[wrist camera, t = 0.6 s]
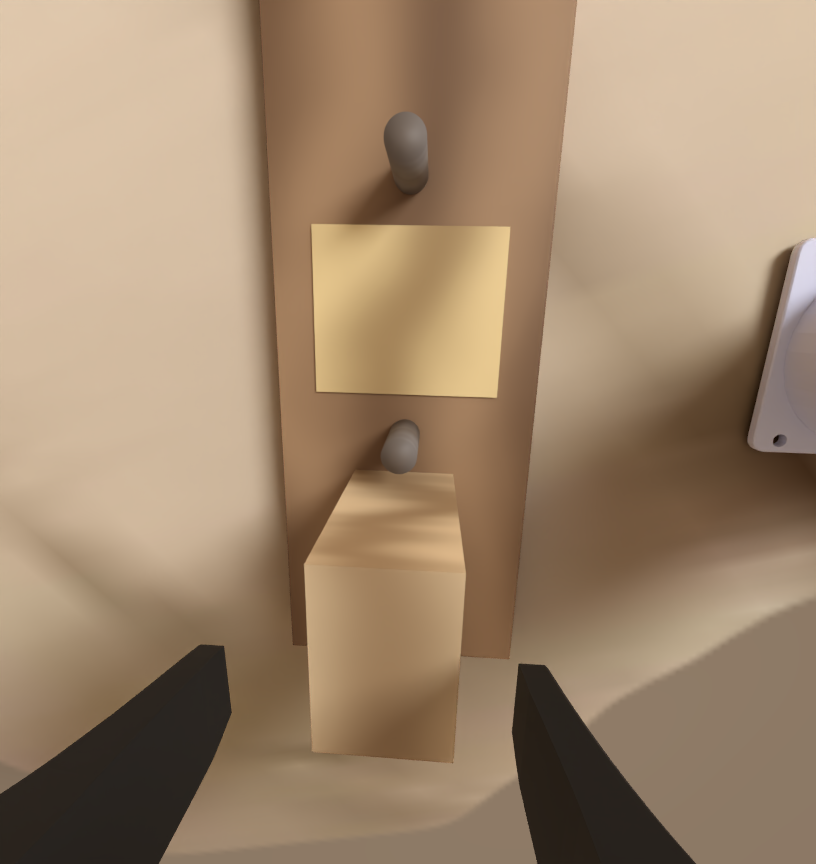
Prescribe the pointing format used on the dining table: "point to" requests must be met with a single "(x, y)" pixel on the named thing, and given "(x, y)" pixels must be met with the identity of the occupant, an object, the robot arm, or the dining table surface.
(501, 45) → the peg board
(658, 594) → the dining table surface
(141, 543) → the dining table surface
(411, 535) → the light brown rectangular slab
